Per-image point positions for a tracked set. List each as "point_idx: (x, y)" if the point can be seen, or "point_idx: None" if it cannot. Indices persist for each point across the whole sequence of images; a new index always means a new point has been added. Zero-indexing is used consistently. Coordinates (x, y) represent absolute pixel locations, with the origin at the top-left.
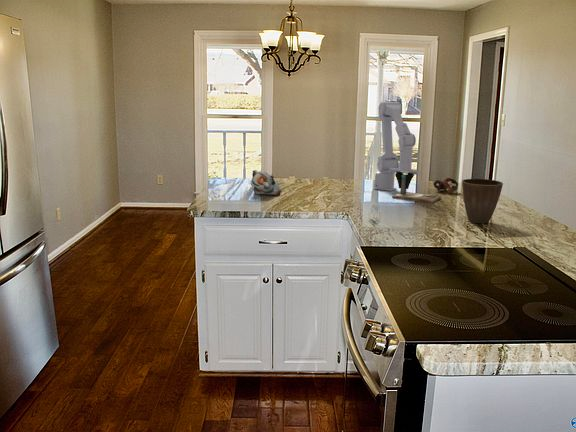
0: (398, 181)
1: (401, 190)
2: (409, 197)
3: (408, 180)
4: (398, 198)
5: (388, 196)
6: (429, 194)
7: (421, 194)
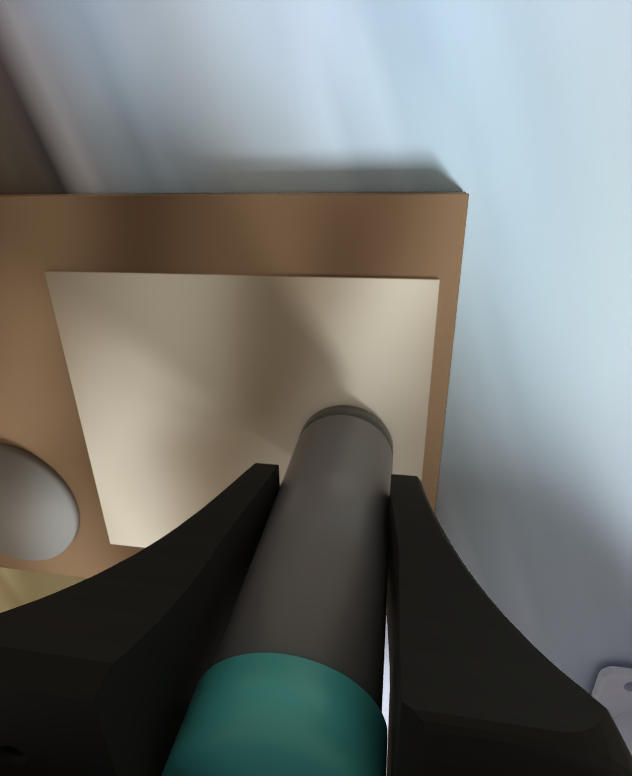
0: (437, 557)
1: (359, 442)
2: (164, 250)
3: (135, 562)
4: (344, 192)
5: (565, 299)
6: (49, 553)
7: (139, 541)
